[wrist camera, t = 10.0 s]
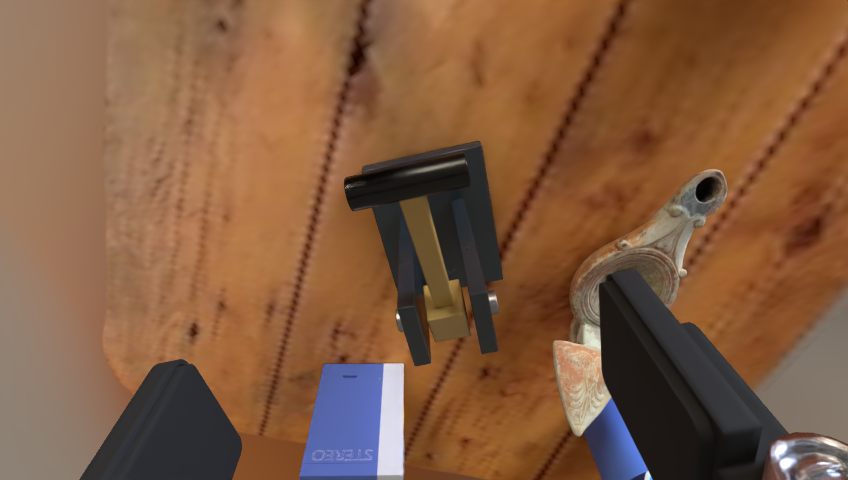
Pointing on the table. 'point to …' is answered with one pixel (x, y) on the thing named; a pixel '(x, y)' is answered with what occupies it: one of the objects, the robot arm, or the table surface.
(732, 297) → the table surface
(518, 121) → the table surface
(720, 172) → the oil lamp
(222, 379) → the table surface
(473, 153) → the switch base
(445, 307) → the switch lever
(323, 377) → the walkman
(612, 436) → the water bottle
